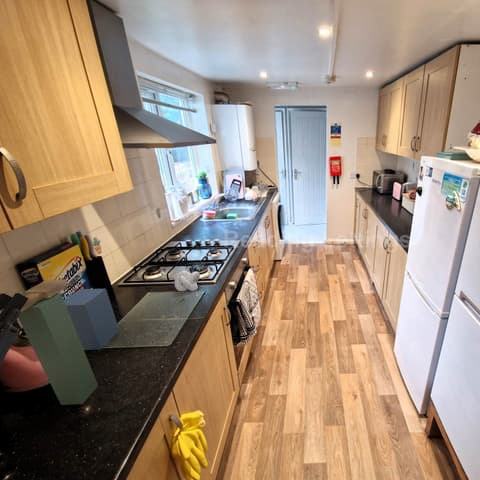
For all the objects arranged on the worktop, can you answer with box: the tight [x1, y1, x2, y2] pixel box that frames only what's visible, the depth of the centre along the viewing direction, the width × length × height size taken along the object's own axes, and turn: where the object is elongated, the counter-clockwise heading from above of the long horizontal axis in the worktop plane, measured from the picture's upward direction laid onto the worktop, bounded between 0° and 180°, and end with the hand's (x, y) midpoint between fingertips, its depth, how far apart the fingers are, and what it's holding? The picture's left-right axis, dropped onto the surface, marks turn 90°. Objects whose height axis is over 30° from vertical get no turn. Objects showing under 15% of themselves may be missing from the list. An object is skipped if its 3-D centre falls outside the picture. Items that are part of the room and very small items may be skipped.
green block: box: [17, 293, 99, 406], centre depth 72 cm, size 6×6×34 cm
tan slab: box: [0, 278, 69, 313], centre depth 62 cm, size 18×5×2 cm, turn 3°
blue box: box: [63, 288, 120, 351], centre depth 95 cm, size 9×10×20 cm
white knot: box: [173, 270, 201, 292], centre depth 132 cm, size 11×12×9 cm
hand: (15, 296), depth 60 cm, fingers closed on tan slab, 2 cm apart
